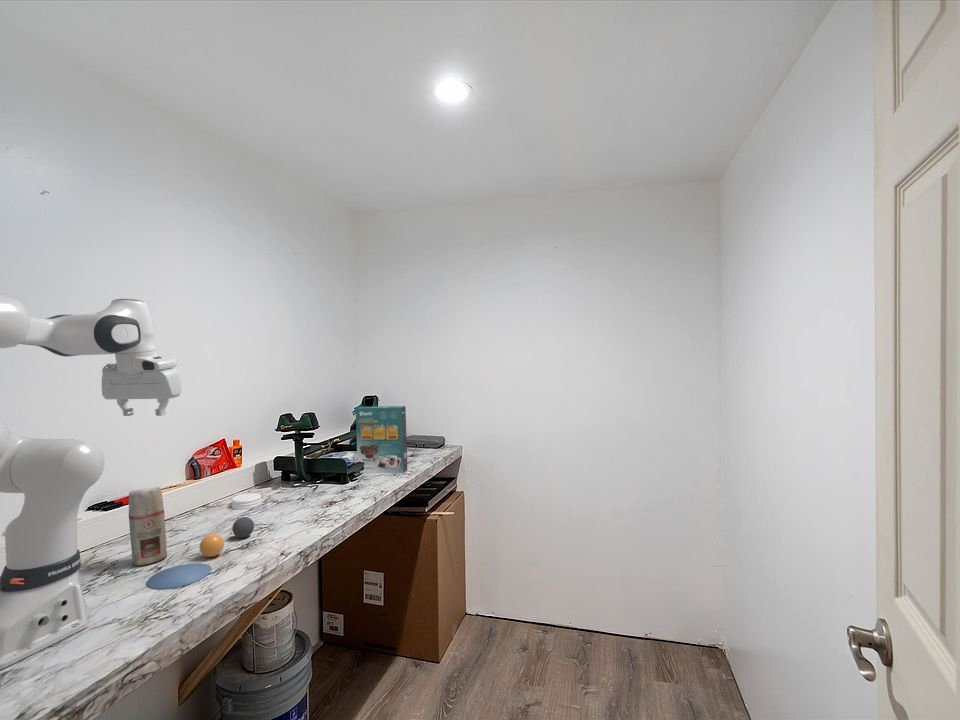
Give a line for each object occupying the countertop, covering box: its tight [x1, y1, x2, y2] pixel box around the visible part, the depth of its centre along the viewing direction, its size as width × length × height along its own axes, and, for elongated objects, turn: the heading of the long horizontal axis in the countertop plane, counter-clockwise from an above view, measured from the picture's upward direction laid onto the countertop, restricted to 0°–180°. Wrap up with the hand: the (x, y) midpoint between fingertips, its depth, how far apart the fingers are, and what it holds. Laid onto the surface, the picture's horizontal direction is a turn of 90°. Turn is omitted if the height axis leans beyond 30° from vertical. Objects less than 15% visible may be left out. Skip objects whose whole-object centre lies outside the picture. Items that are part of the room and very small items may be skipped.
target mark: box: [146, 562, 212, 590], centre depth 125 cm, size 14×14×1 cm
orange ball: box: [199, 533, 225, 558], centre depth 137 cm, size 6×6×6 cm
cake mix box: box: [355, 405, 408, 474], centre depth 229 cm, size 22×6×30 cm, turn 82°
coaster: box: [230, 492, 262, 511], centre depth 183 cm, size 10×10×4 cm
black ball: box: [231, 516, 255, 539], centre depth 151 cm, size 6×6×6 cm
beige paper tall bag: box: [128, 486, 168, 566], centre depth 135 cm, size 8×8×20 cm
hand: (144, 415), depth 128 cm, fingers open, 8 cm apart
